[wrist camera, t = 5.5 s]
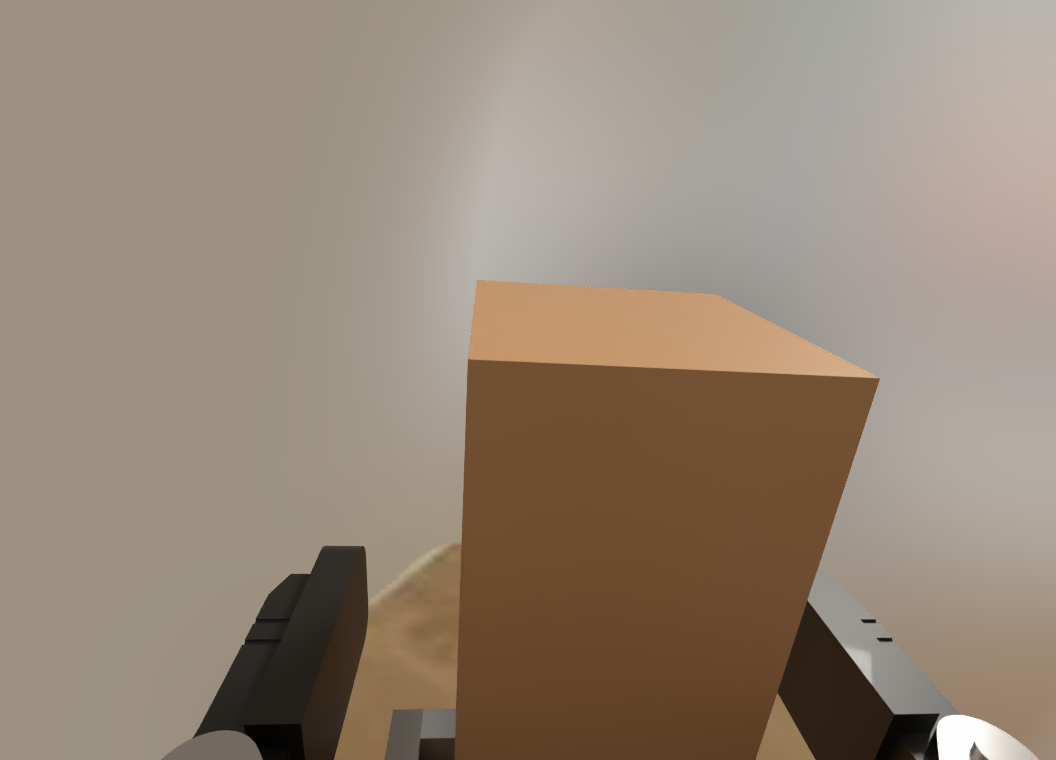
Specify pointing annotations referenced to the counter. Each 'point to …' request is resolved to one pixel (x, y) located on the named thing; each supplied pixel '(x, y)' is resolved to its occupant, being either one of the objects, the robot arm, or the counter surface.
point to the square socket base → (422, 735)
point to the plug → (639, 519)
